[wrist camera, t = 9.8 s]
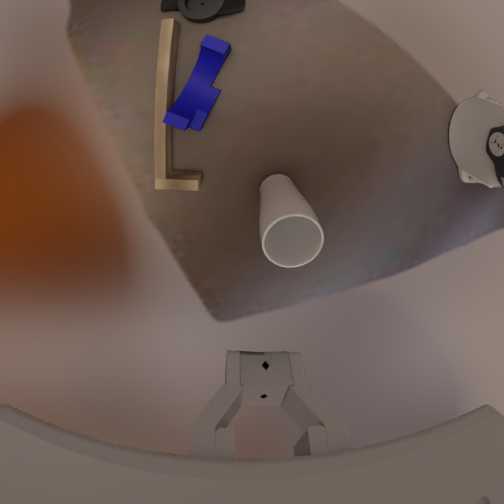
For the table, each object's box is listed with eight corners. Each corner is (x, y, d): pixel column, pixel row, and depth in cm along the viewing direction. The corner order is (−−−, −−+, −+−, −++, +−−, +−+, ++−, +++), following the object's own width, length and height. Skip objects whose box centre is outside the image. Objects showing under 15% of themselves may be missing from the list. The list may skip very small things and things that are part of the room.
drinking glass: (306, 196, 42) (334, 250, 30) (268, 217, 44) (280, 278, 32) (285, 159, 39) (308, 201, 27) (245, 182, 41) (248, 233, 28)
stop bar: (213, 23, 27) (210, 17, 24) (201, 180, 40) (198, 190, 37) (169, 24, 27) (161, 19, 24) (162, 179, 40) (155, 189, 37)
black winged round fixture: (194, -27, 22) (191, -34, 20) (250, 6, 26) (251, 0, 24) (158, 10, 25) (152, 5, 23) (212, 43, 29) (210, 40, 27)
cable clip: (202, 128, 36) (195, 135, 31) (173, 116, 35) (162, 122, 30) (241, 54, 30) (241, 48, 25) (211, 41, 29) (206, 34, 24)
